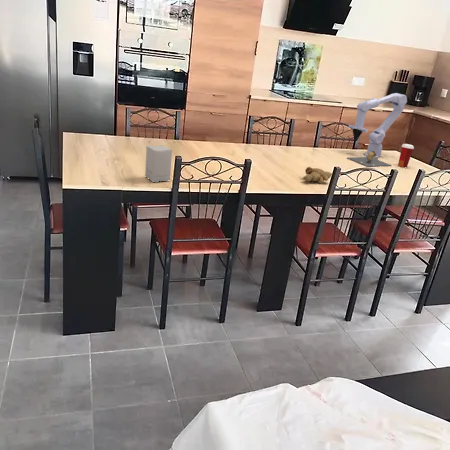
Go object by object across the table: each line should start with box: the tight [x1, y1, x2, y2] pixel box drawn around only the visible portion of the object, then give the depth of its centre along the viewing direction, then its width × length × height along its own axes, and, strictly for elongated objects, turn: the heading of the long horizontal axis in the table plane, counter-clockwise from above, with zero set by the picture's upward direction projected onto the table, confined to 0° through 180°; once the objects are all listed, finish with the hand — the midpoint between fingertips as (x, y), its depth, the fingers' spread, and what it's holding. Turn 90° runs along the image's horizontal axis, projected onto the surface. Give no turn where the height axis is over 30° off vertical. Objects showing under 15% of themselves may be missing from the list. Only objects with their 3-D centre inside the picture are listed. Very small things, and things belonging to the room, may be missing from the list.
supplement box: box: [144, 145, 173, 183], centre depth 205 cm, size 9×9×15 cm
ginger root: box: [302, 166, 333, 184], centre depth 235 cm, size 16×16×8 cm
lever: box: [367, 151, 376, 160], centre depth 290 cm, size 18×4×4 cm, turn 156°
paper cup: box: [397, 143, 415, 168], centre depth 288 cm, size 8×8×14 cm
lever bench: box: [346, 155, 392, 168], centre depth 289 cm, size 21×19×3 cm
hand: (355, 140), depth 302 cm, fingers closed
